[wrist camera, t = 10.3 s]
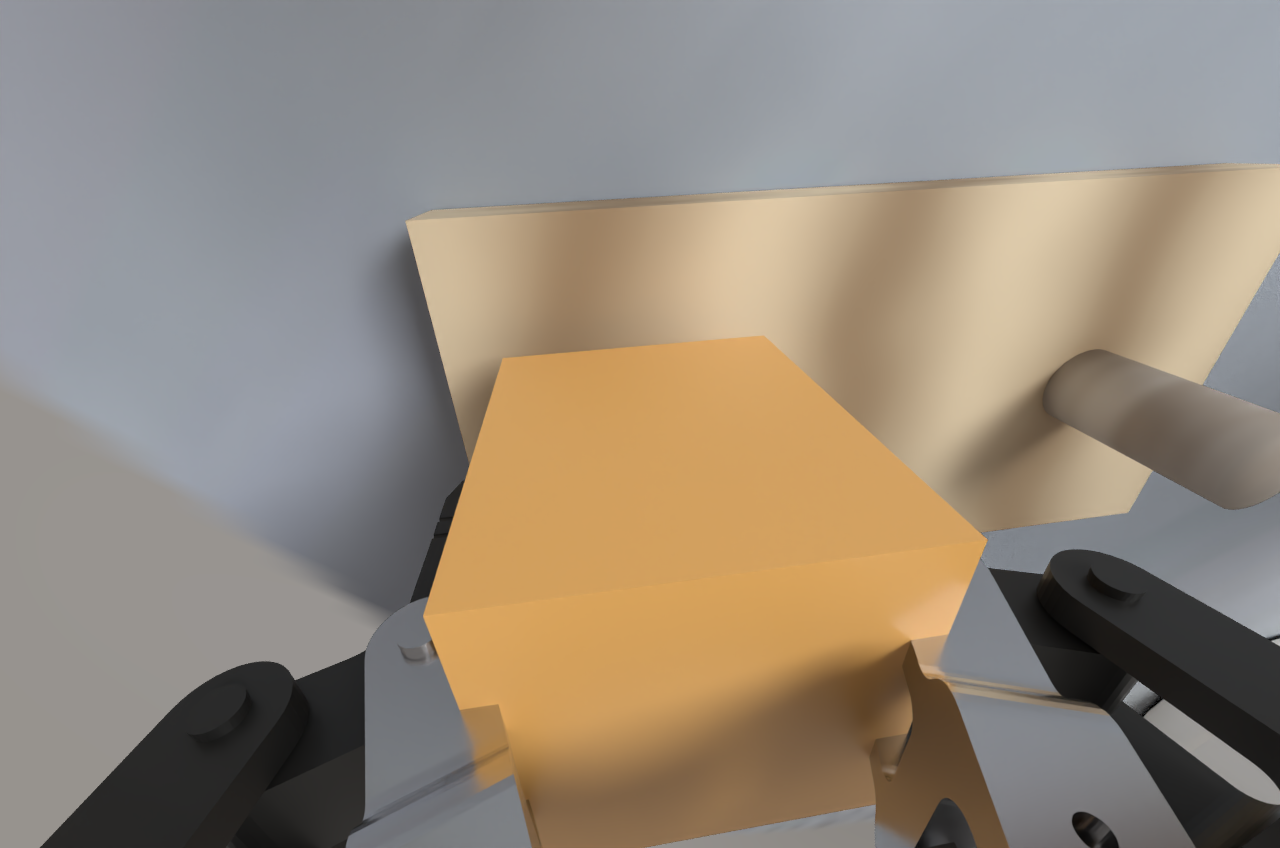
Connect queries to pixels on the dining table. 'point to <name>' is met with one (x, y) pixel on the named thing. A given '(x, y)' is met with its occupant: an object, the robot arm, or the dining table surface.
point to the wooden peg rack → (916, 317)
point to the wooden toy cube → (688, 590)
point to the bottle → (1214, 752)
